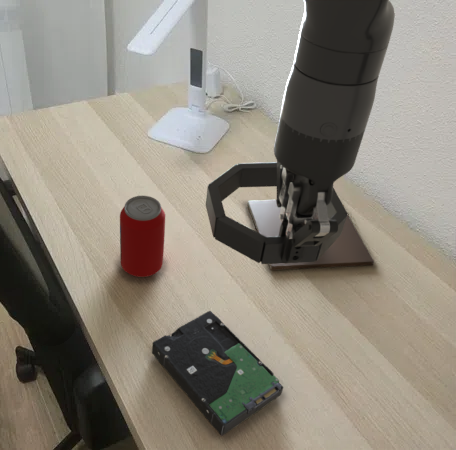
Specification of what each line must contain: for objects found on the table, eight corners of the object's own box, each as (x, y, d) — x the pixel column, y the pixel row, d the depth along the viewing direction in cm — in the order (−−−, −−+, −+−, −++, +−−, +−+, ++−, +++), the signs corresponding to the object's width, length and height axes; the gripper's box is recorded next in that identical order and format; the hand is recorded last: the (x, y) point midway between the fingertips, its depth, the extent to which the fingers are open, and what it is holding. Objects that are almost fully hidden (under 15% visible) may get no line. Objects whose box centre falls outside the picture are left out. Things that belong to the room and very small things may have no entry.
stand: (336, 200, 102) (344, 176, 99) (372, 265, 90) (382, 240, 86) (247, 203, 101) (251, 179, 97) (270, 270, 88) (276, 244, 84)
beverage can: (144, 245, 92) (146, 187, 84) (171, 267, 88) (175, 209, 80) (112, 262, 88) (110, 204, 80) (138, 287, 84) (138, 228, 76)
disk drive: (150, 355, 75) (222, 439, 66) (150, 342, 73) (224, 427, 64) (208, 321, 80) (282, 395, 71) (209, 308, 78) (286, 382, 69)
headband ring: (314, 180, 73) (319, 161, 71) (355, 260, 61) (362, 240, 59) (200, 183, 71) (202, 163, 69) (220, 266, 60) (223, 245, 58)
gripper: (395, 156, 44) (342, 300, 56) (339, 80, 55) (303, 214, 66) (304, 158, 44) (269, 303, 55) (265, 80, 54) (242, 216, 65)
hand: (288, 254), depth 60 cm, fingers closed on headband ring, 1 cm apart
